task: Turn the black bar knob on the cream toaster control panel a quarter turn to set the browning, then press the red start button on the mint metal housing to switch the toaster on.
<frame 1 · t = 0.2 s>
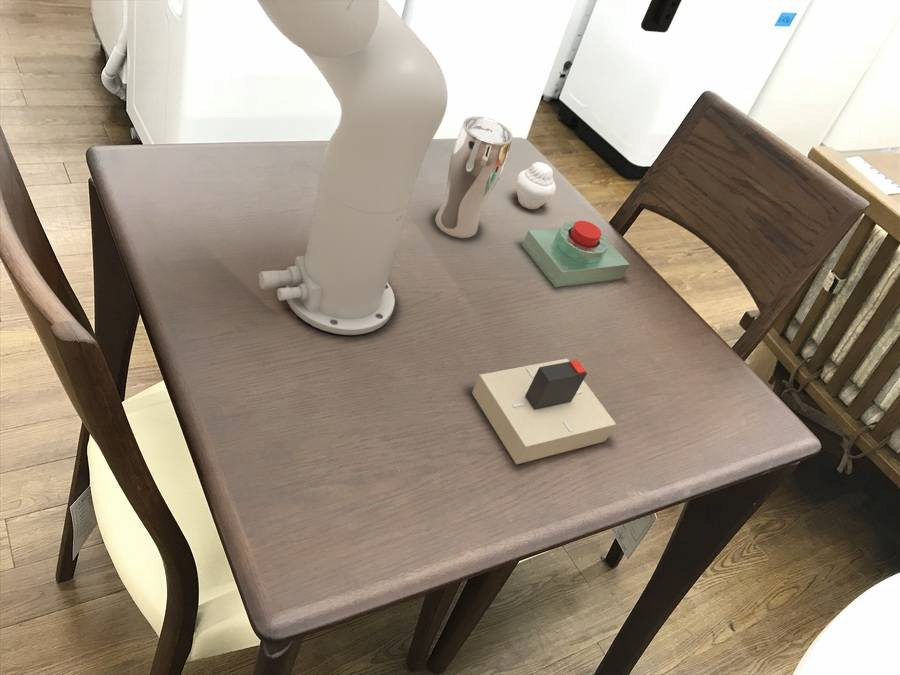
hand: (624, 7, 77), 36 cm above the table, tool pointing down, fingers open, 9 cm apart
dial panel: (538, 417, 84), on the table
start button: (585, 234, 105), point 5 cm above the table, slide at 0.1 cm
beer glass: (455, 226, 107), on the table
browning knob: (556, 384, 80), point 5 cm above the table, hinge at 0.0°
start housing: (572, 262, 108), on the table
muffin: (528, 204, 117), on the table
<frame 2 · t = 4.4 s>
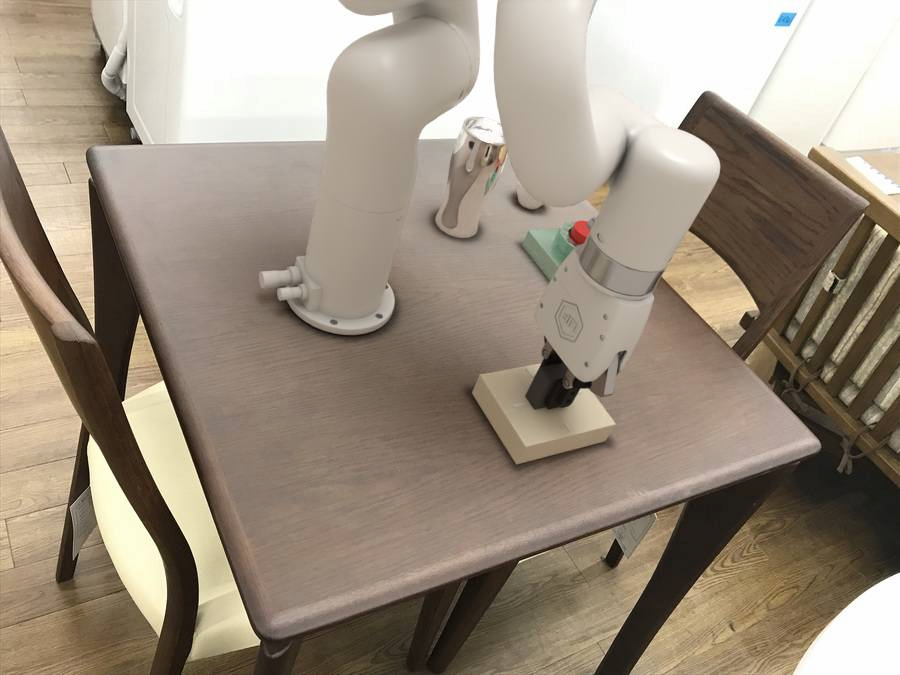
hand: (550, 394, 82), 4 cm above the table, tool pointing down, fingers closed on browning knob, 2 cm apart
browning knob: (556, 384, 80), point 5 cm above the table, hinge at 0.0°, touching gripper
everything else where it was.
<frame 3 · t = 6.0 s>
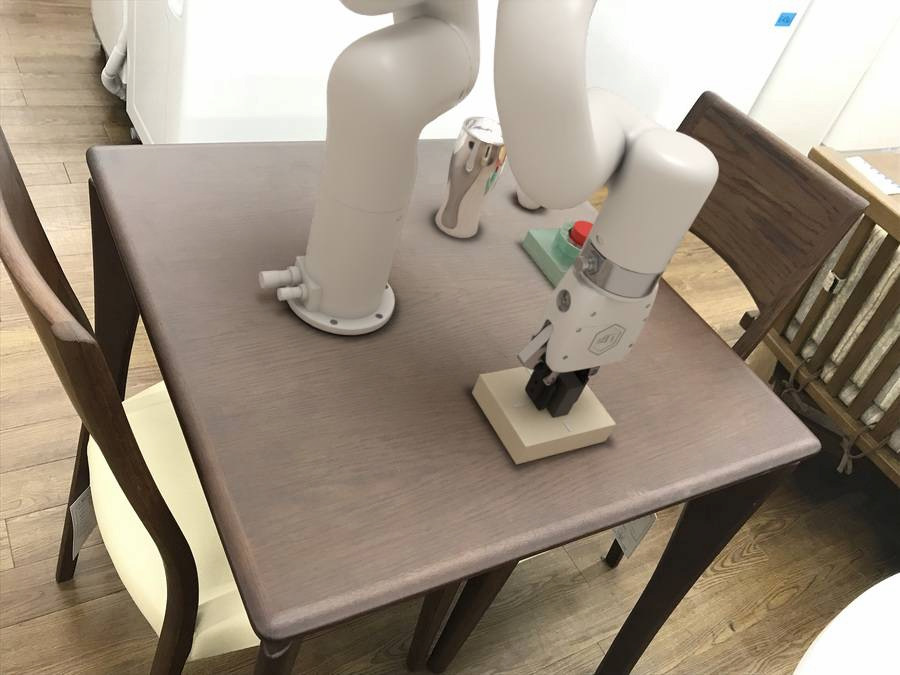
hand: (550, 395, 82), 4 cm above the table, tool pointing down, fingers open, 3 cm apart
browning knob: (556, 384, 80), point 5 cm above the table, hinge at 89.9°
everything else where it was.
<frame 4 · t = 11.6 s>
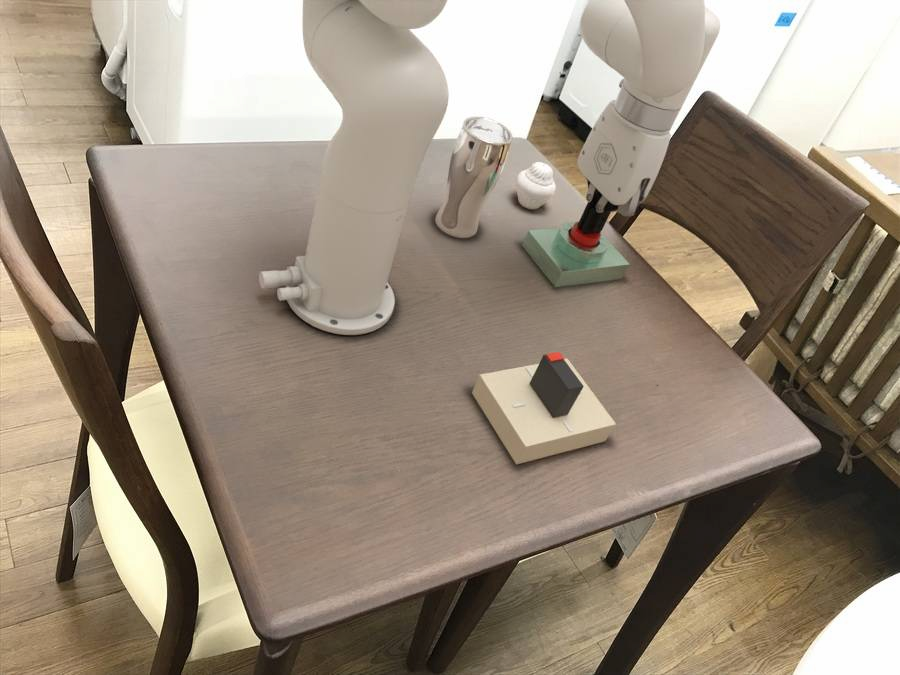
hand: (588, 229, 105), 6 cm above the table, tool pointing down, fingers closed
start button: (585, 235, 105), point 5 cm above the table, slide at -0.1 cm, touching gripper
everything else where it was.
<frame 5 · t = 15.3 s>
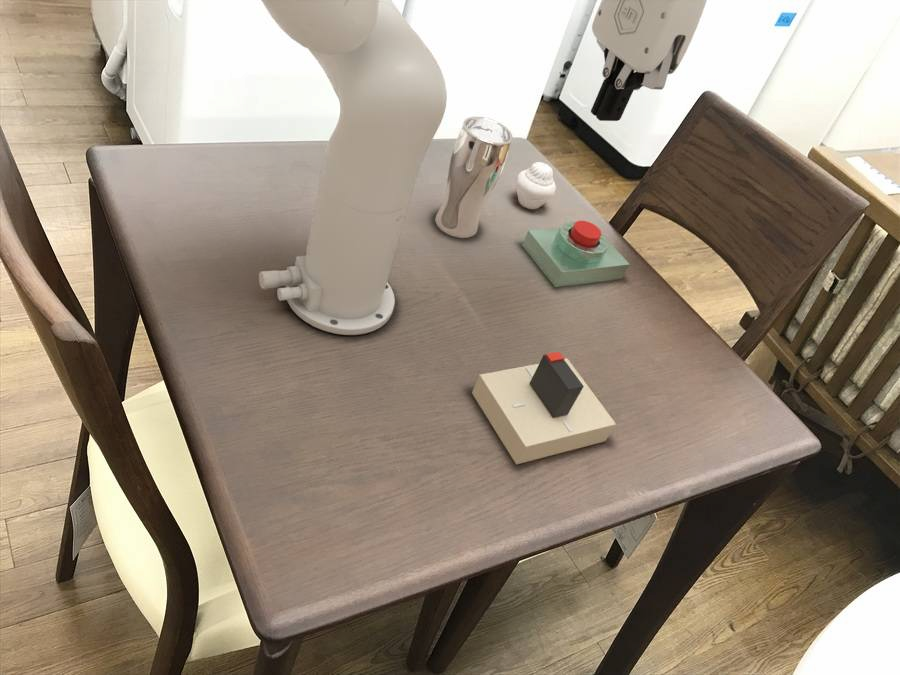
hand: (604, 116, 85), 25 cm above the table, tool pointing down, fingers closed
start button: (585, 234, 105), point 5 cm above the table, slide at 0.1 cm
everything else where it was.
at the end: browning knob at +90° (first picture: +0°); start button pushed in 1.1 cm at the most during the clip, back to where it started at the end; start button slide at 0.1 cm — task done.
